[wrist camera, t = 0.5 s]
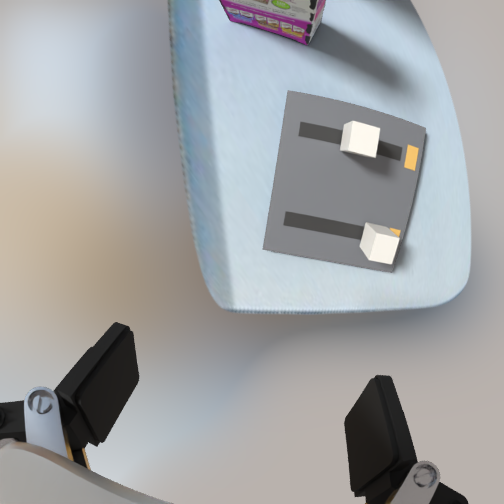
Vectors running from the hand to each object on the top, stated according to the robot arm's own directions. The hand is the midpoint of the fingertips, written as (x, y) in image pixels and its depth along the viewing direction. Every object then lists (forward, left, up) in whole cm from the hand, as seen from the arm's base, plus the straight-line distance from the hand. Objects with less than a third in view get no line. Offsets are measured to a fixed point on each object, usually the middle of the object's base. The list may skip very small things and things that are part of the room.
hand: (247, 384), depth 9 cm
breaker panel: (-6, +8, -27) cm, 29 cm away
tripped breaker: (-11, +8, -25) cm, 29 cm away
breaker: (0, +13, -25) cm, 28 cm away
